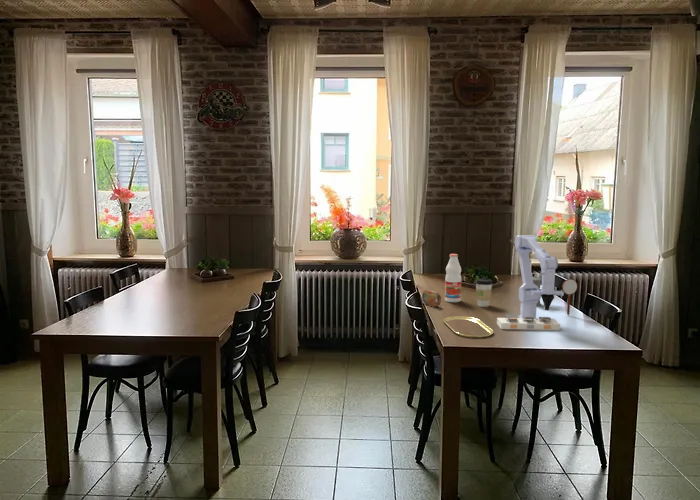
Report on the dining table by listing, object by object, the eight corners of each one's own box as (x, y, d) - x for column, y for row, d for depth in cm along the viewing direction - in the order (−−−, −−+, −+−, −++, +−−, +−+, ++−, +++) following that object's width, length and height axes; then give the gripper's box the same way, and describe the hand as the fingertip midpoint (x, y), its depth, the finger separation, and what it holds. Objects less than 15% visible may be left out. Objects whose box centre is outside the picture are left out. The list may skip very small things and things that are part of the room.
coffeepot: (527, 306, 304) (528, 275, 302) (517, 303, 313) (518, 272, 311) (550, 304, 309) (551, 274, 306) (539, 301, 318) (541, 271, 315)
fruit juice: (459, 299, 323) (460, 253, 319) (461, 302, 314) (463, 255, 310) (443, 298, 324) (445, 253, 320) (445, 302, 315) (446, 255, 311)
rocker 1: (506, 316, 267) (506, 314, 266) (514, 316, 266) (514, 314, 266) (508, 320, 261) (508, 318, 261) (517, 320, 261) (517, 318, 260)
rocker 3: (538, 318, 265) (538, 316, 266) (547, 318, 265) (547, 316, 265) (542, 319, 260) (542, 317, 260) (550, 319, 259) (550, 317, 259)
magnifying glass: (561, 316, 283) (563, 279, 280) (559, 315, 285) (561, 278, 282) (576, 315, 284) (578, 278, 281) (574, 315, 286) (577, 278, 283)
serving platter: (474, 318, 280) (474, 315, 280) (499, 338, 246) (499, 335, 246) (439, 319, 278) (439, 316, 278) (459, 339, 244) (459, 336, 244)
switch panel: (496, 323, 269) (497, 315, 269) (553, 324, 268) (554, 316, 267) (501, 329, 259) (501, 321, 259) (560, 330, 258) (560, 322, 257)
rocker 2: (522, 318, 266) (522, 316, 266) (530, 318, 266) (530, 316, 266) (525, 319, 260) (525, 316, 260) (533, 319, 260) (533, 317, 260)
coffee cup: (474, 303, 313) (475, 278, 311) (491, 304, 311) (492, 278, 309) (474, 307, 303) (475, 281, 301) (492, 308, 301) (493, 281, 299)
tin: (421, 302, 314) (421, 288, 313) (426, 302, 316) (426, 288, 314) (437, 308, 301) (437, 293, 300) (441, 307, 302) (442, 293, 301)
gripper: (534, 283, 254) (533, 311, 256) (566, 284, 253) (564, 312, 255) (531, 280, 261) (529, 308, 262) (561, 281, 260) (560, 308, 261)
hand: (546, 309), depth 259 cm, fingers closed
